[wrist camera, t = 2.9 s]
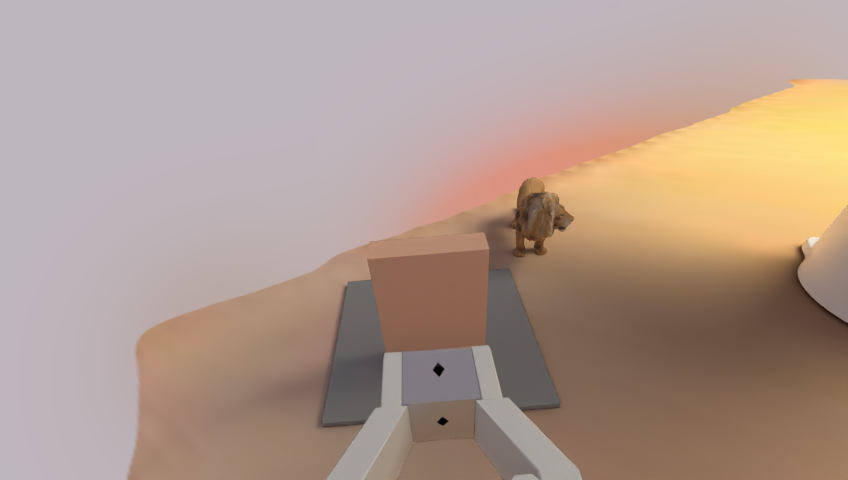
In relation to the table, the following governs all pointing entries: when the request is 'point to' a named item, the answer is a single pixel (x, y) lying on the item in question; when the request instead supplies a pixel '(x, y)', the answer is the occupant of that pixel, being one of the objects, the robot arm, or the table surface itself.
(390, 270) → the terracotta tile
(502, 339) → the rubber mat
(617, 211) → the table surface
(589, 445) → the table surface
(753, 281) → the table surface
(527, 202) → the lion figurine
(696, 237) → the table surface
